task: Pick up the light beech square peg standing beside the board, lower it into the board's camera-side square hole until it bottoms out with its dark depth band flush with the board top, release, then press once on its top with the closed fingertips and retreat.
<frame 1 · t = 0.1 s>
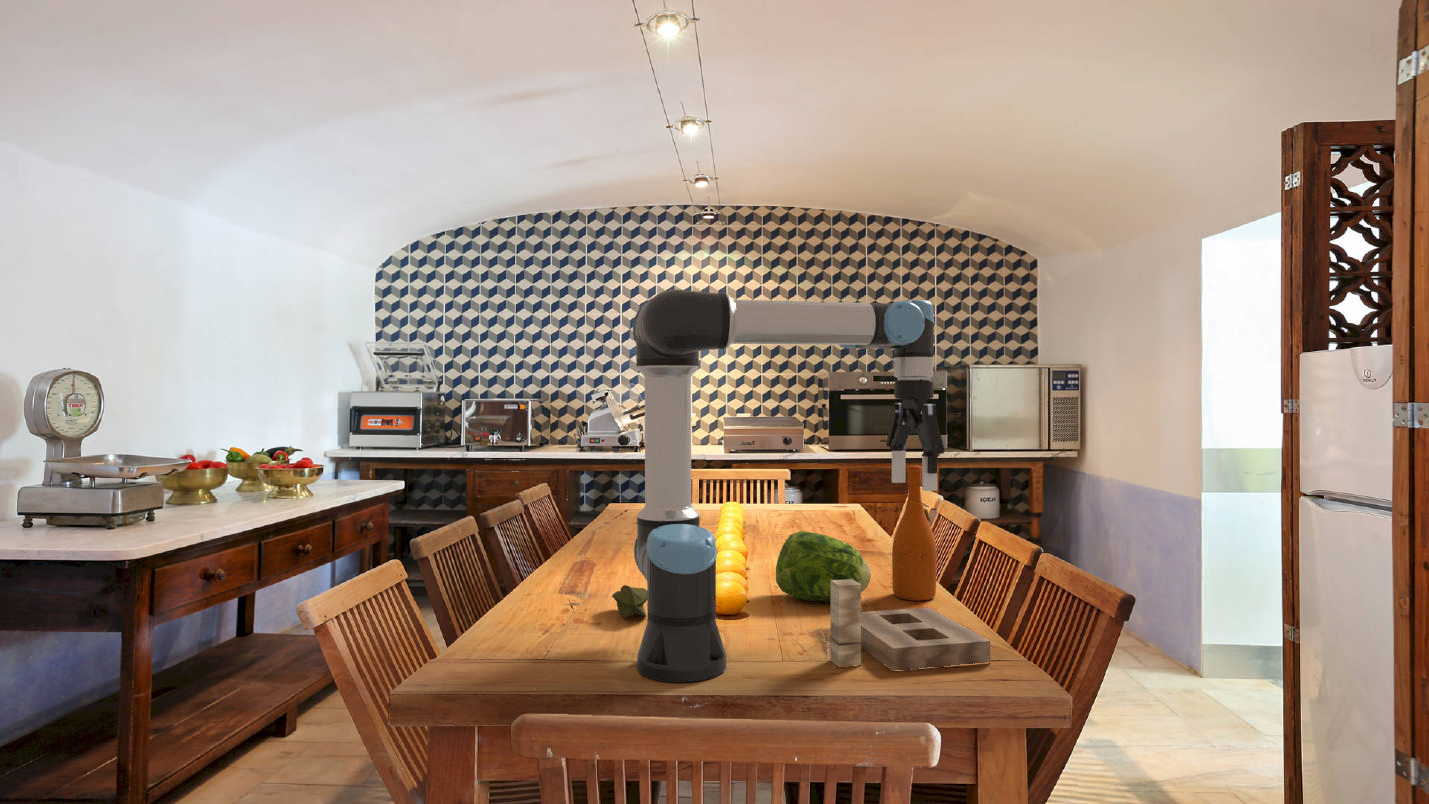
hand: (913, 486, 163), 28 cm above the table, fingers open, 13 cm apart
lettuce: (823, 600, 184), on the table
board: (912, 648, 150), on the table
peg: (845, 663, 142), on the table
fruit: (629, 618, 171), on the table
wine bottle: (914, 597, 187), on the table
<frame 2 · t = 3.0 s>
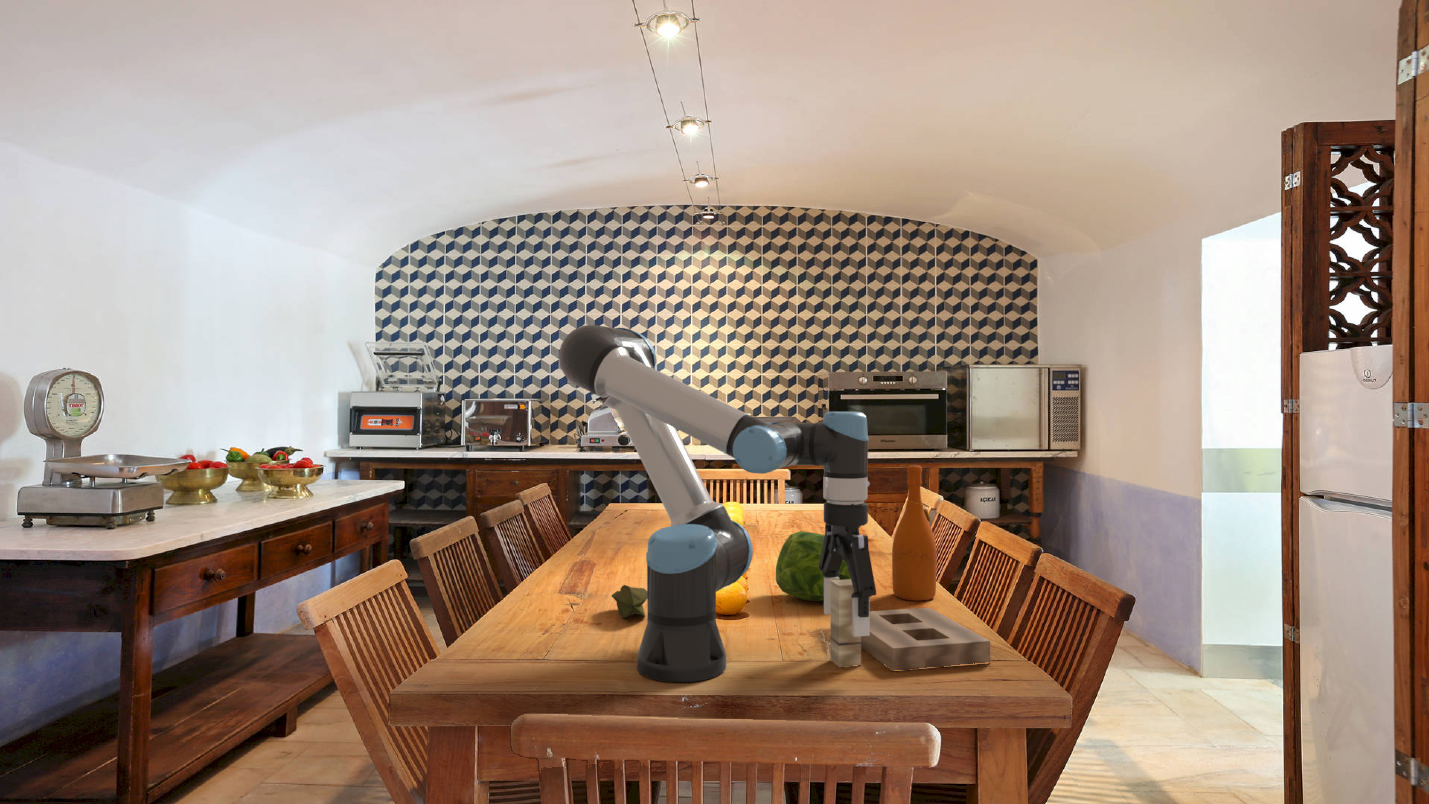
hand: (845, 624, 142), 7 cm above the table, fingers open, 13 cm apart
nothing on the table moved.
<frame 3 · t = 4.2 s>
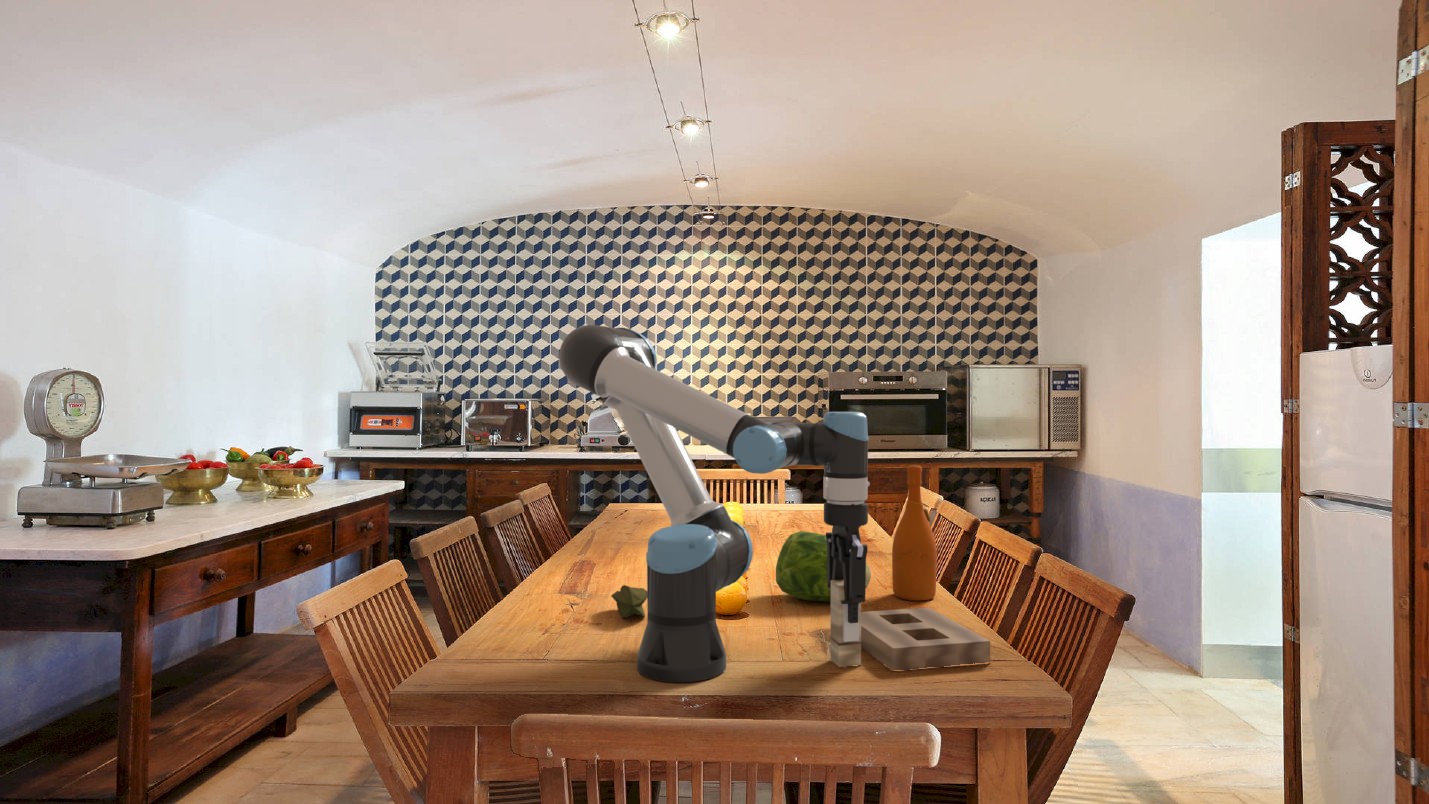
hand: (845, 636, 142), 5 cm above the table, fingers closed on peg, 4 cm apart
peg: (845, 663, 142), on the table, touching gripper
everything else where it was.
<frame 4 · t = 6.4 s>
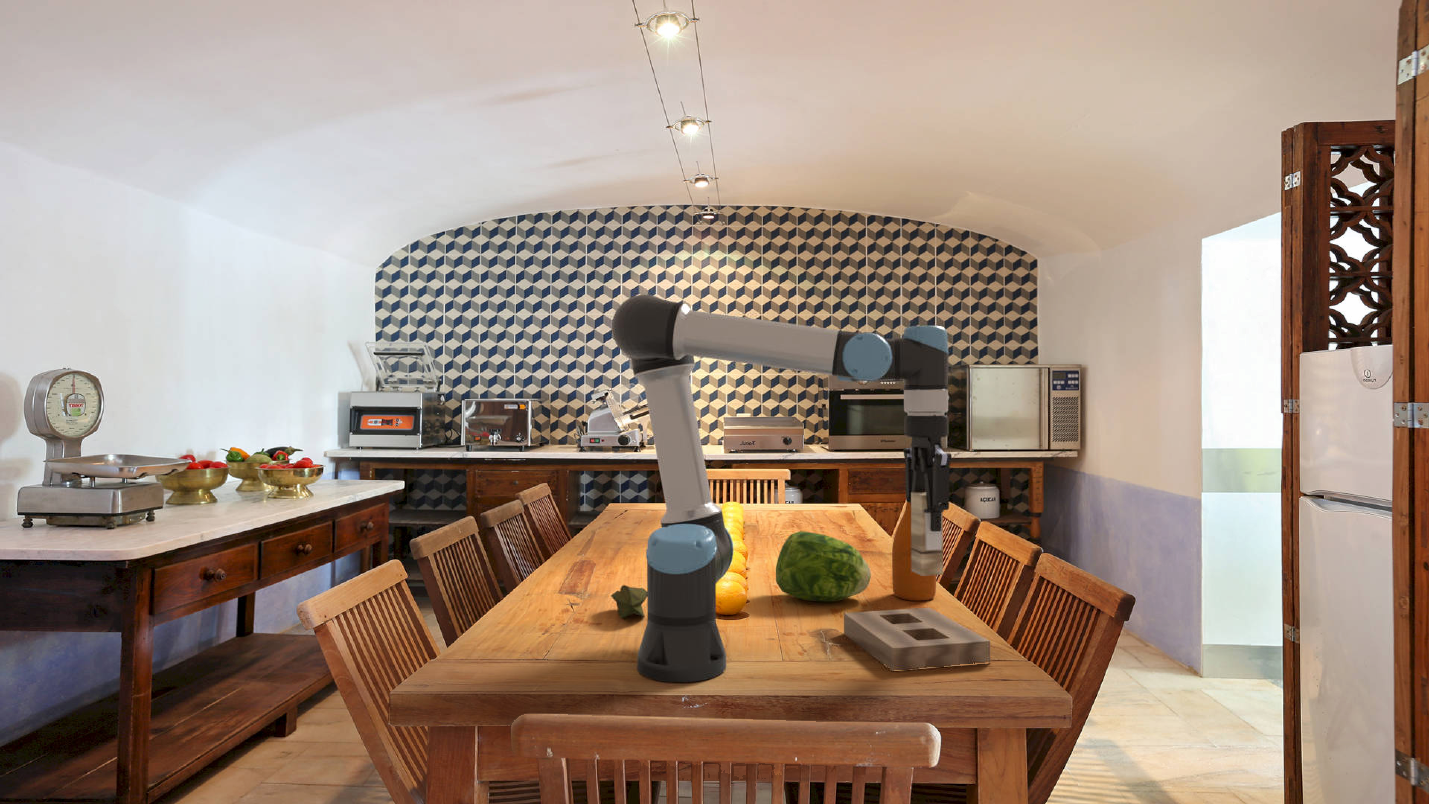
hand: (926, 546, 145), 20 cm above the table, fingers closed on peg, 4 cm apart
peg: (927, 572, 145), point 15 cm above the table, touching gripper
everything else where it was.
when the fingers open (6 cm above the table, at t = 8.9 s): peg stays where it is, resting in board.
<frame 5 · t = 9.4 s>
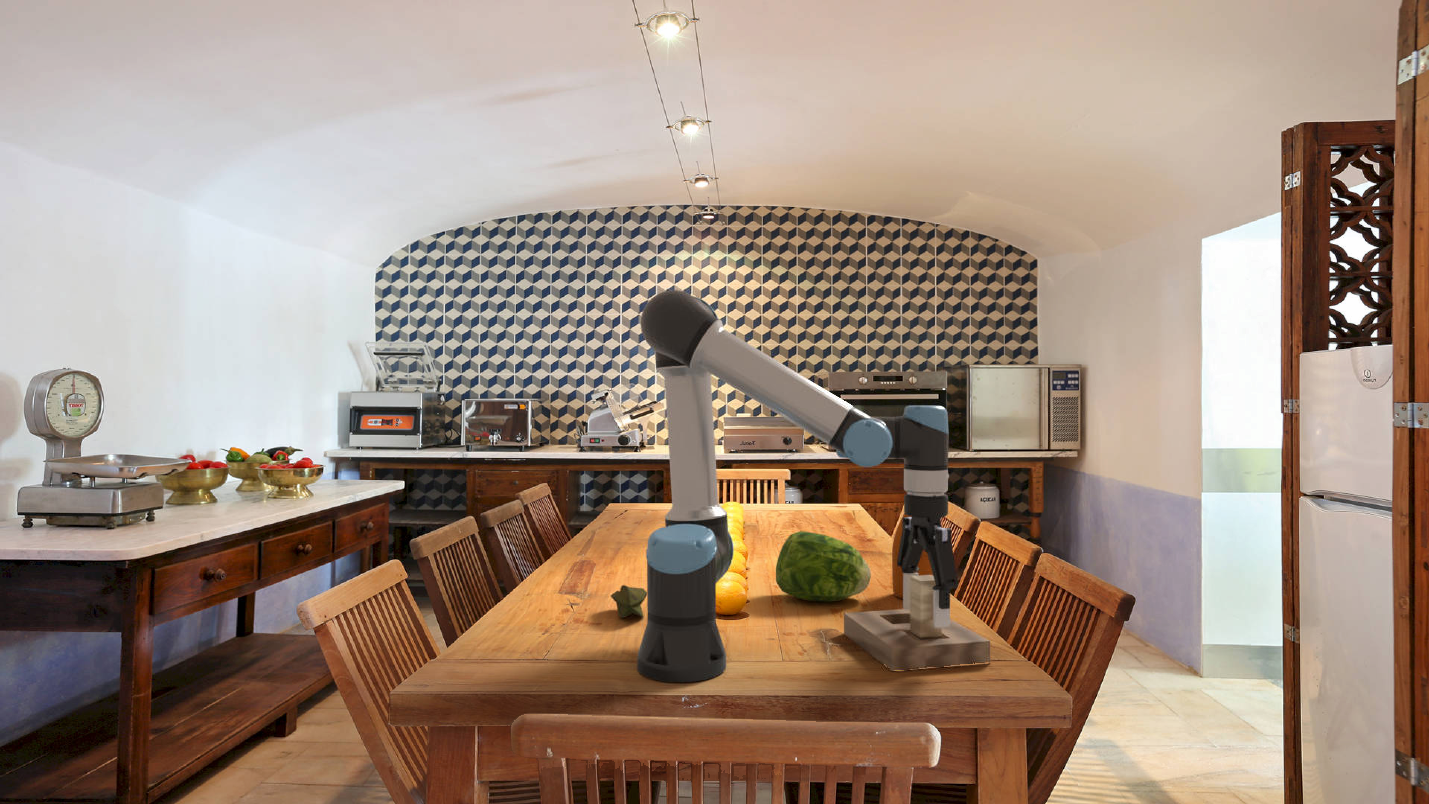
hand: (925, 617, 145), 7 cm above the table, fingers open, 11 cm apart
peg: (925, 656, 145), resting in board
everything else where it was.
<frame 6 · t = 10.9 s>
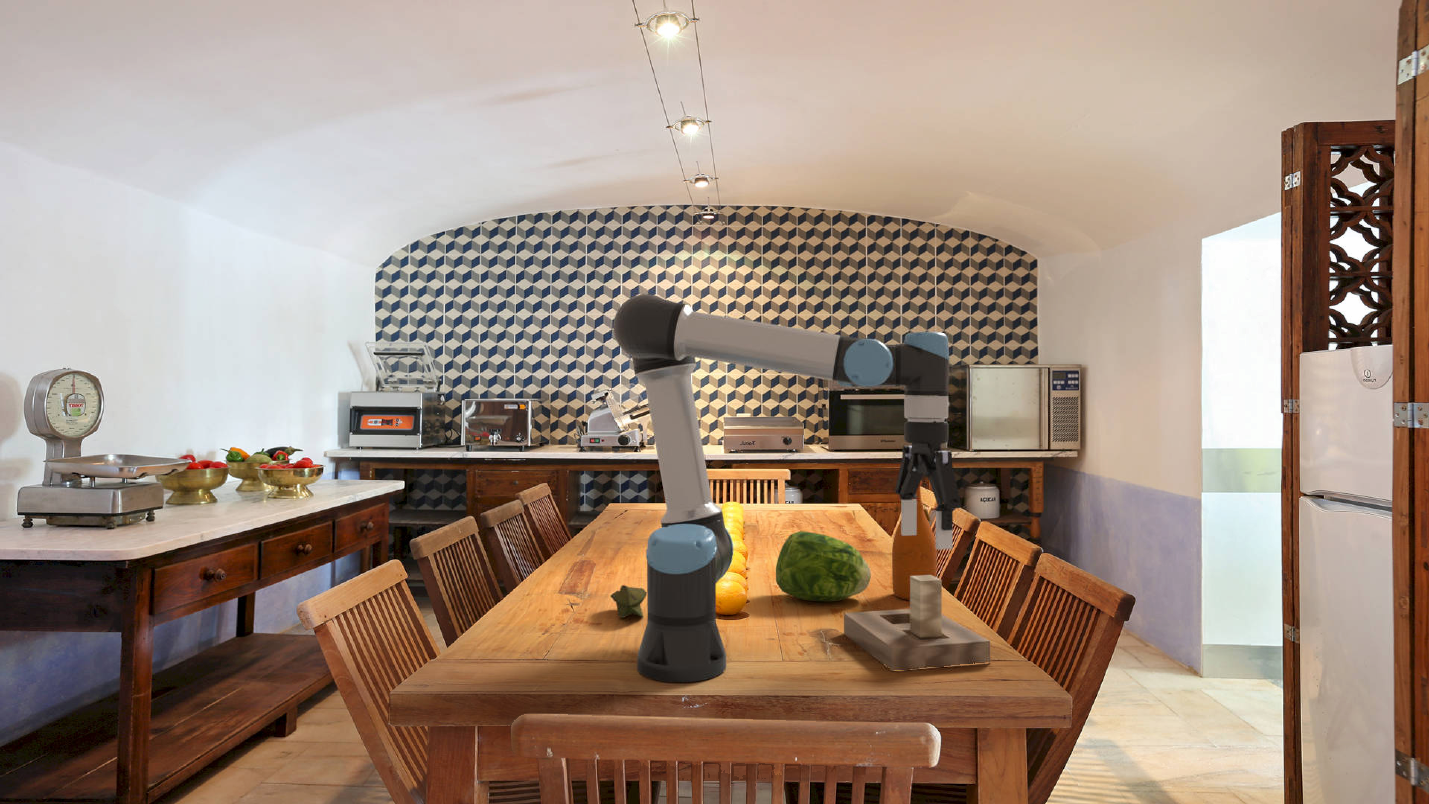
hand: (925, 541, 145), 20 cm above the table, fingers open, 12 cm apart
nothing on the table moved.
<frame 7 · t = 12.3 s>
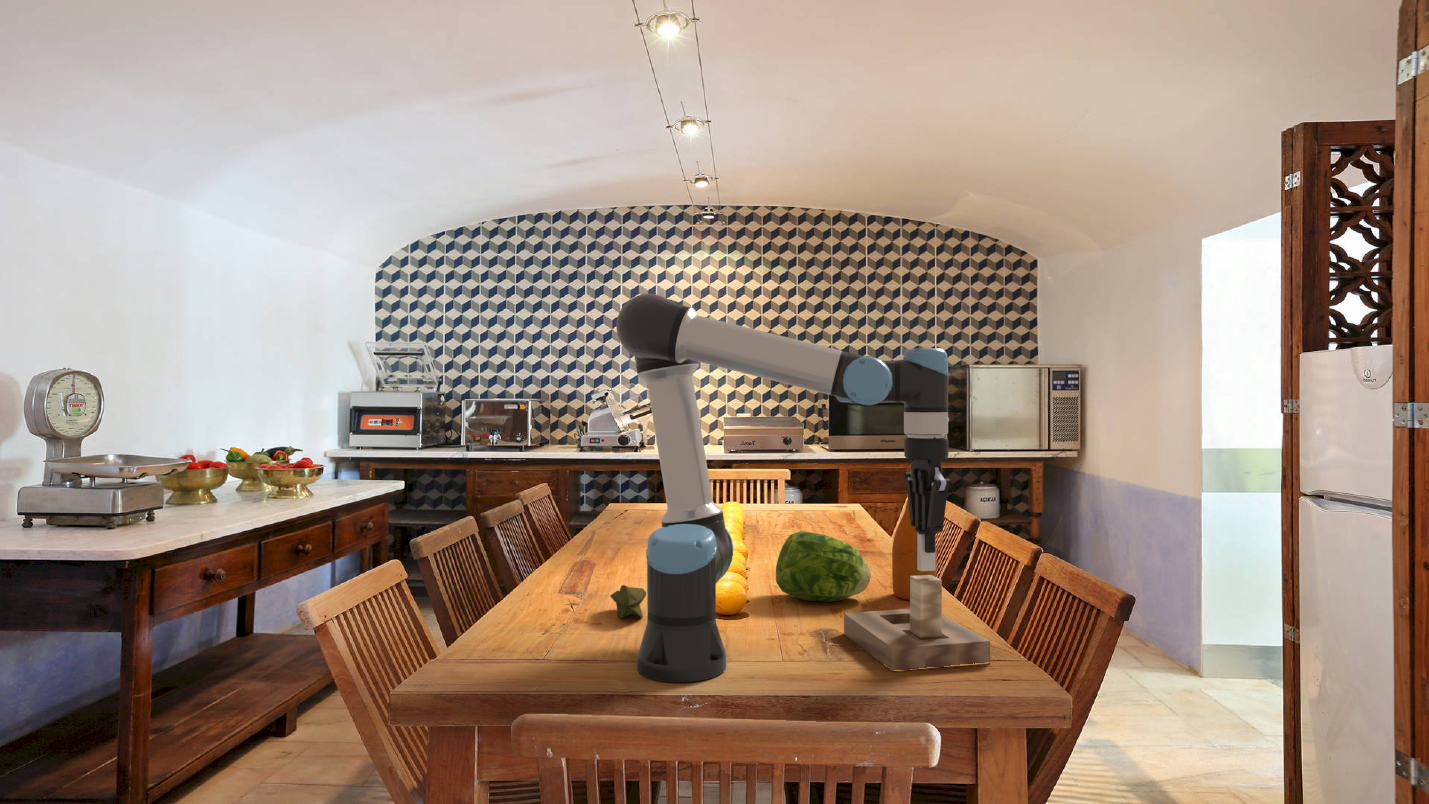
hand: (926, 569, 145), 15 cm above the table, fingers closed
nothing on the table moved.
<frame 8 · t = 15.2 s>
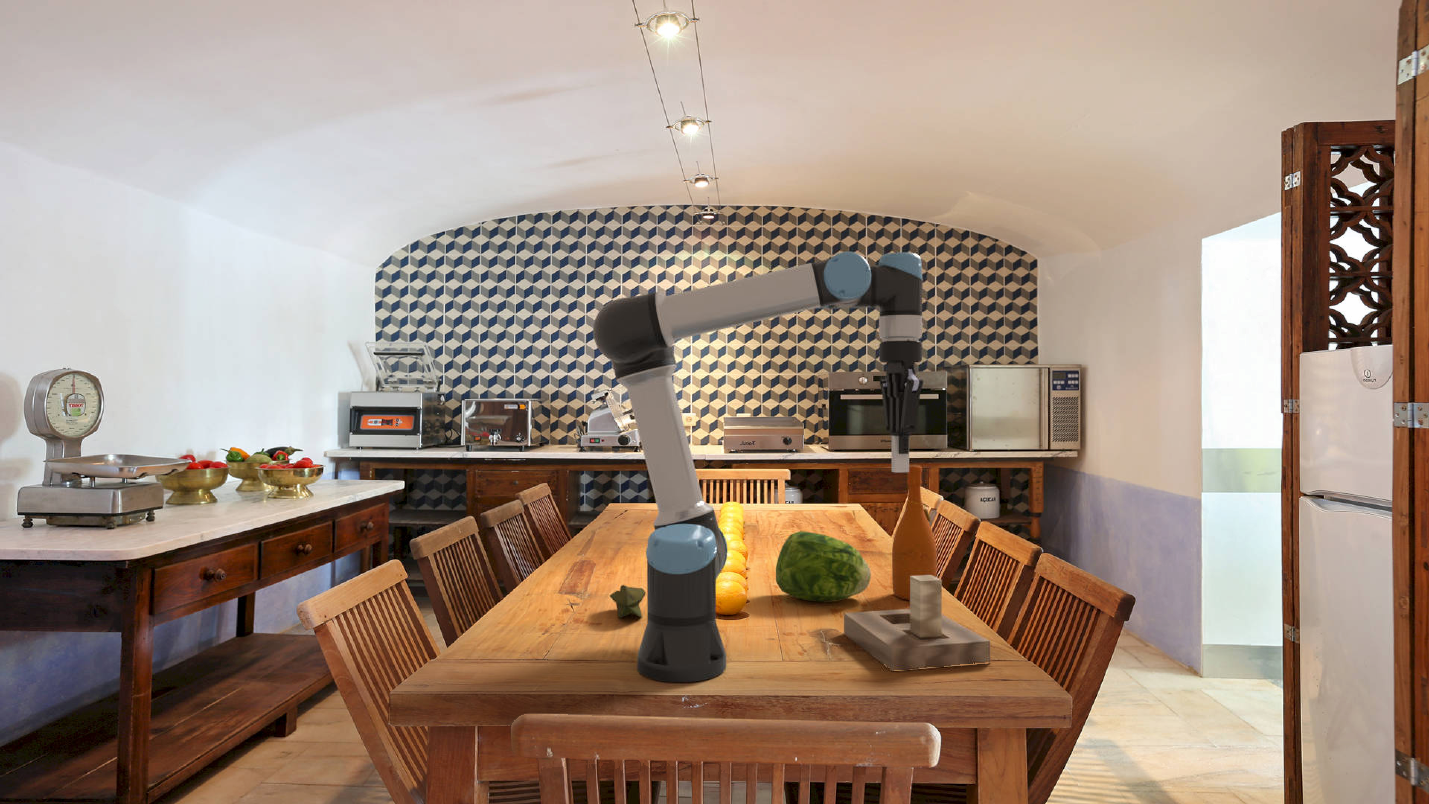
hand: (900, 471, 148), 32 cm above the table, fingers closed
nothing on the table moved.
at the end: peg 0.0 cm from the target spot on the board, point 0.0 cm above the board's base; peg tilted 0°; the gripper is holding nothing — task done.
